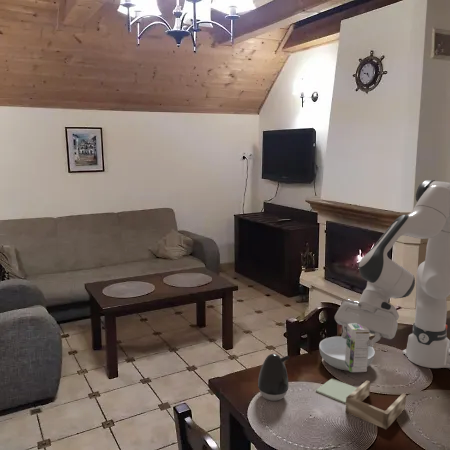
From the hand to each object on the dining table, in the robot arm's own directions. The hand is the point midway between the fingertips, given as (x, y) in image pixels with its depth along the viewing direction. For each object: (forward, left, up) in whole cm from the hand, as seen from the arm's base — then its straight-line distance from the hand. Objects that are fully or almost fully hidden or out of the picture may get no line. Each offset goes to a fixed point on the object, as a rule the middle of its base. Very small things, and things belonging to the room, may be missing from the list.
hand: (356, 341), depth 149 cm
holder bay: (0, +8, -21) cm, 22 cm away
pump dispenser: (+15, -21, -21) cm, 34 cm away
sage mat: (-3, -7, -21) cm, 22 cm away
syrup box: (-1, 0, -10) cm, 10 cm away
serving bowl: (-23, -14, -21) cm, 34 cm away
